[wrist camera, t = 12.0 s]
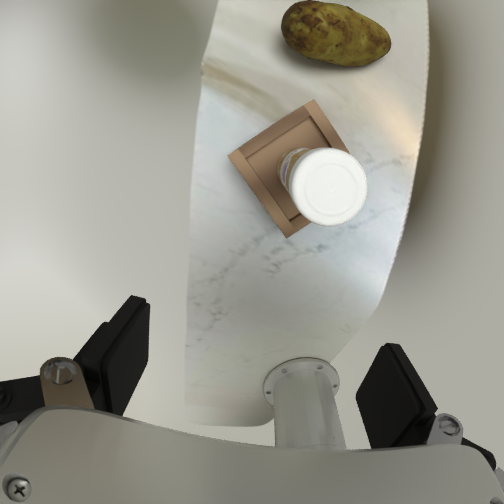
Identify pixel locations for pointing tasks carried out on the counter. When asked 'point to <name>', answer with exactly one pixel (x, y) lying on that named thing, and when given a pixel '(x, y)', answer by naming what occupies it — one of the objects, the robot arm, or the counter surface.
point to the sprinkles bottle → (324, 184)
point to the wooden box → (269, 153)
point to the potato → (334, 34)
